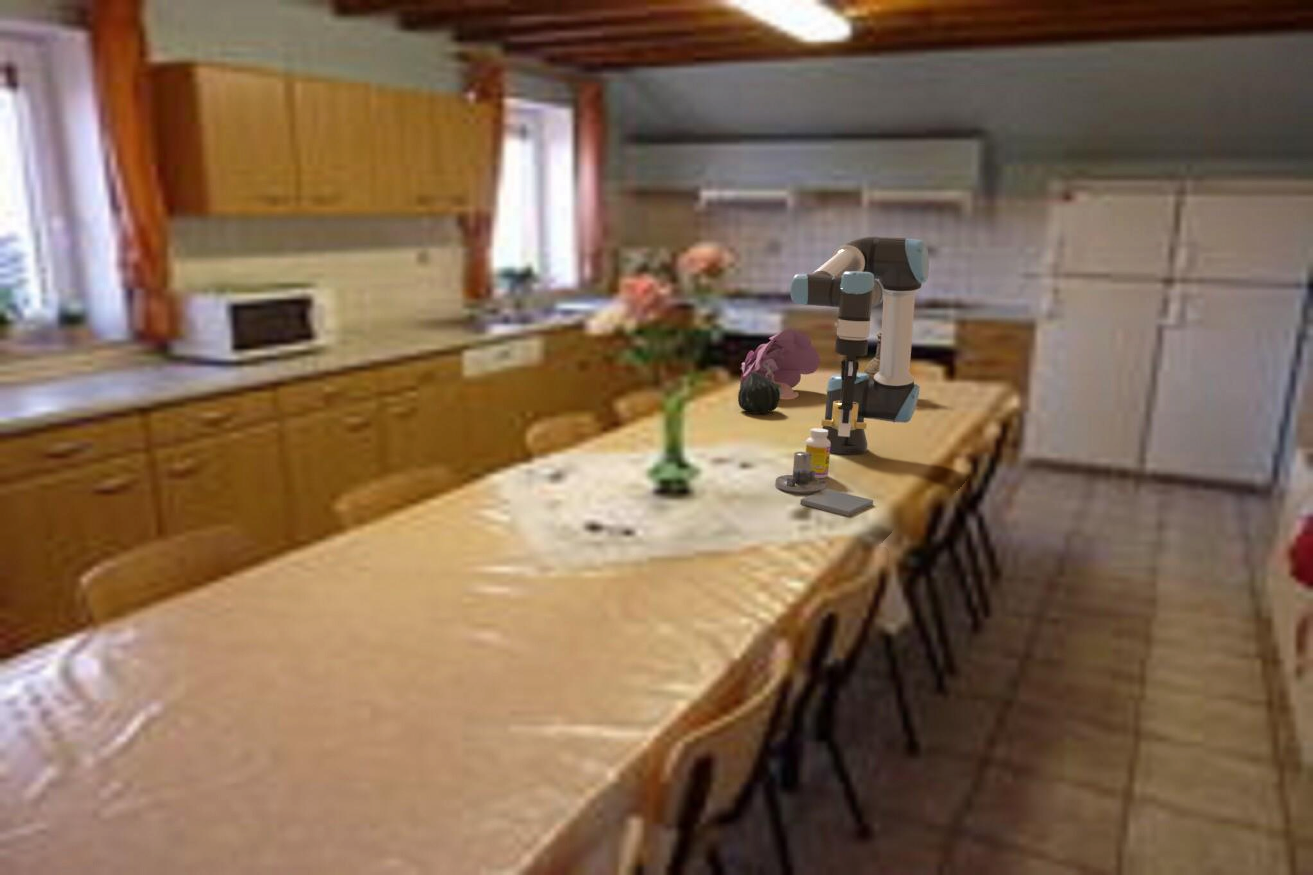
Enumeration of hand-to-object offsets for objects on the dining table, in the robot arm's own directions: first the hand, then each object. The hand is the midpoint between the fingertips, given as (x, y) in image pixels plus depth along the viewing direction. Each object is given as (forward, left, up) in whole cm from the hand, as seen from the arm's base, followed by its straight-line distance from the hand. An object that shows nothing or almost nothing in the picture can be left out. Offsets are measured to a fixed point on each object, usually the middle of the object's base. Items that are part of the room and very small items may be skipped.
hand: (843, 432), depth 228 cm
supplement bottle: (-19, -17, -18) cm, 31 cm away
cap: (0, 0, +1) cm, 1 cm away
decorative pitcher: (-142, -57, -18) cm, 154 cm away
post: (-6, -14, -18) cm, 24 cm away
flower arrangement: (-111, -89, -18) cm, 143 cm away
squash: (-77, -74, -18) cm, 109 cm away
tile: (0, 0, -18) cm, 18 cm away
